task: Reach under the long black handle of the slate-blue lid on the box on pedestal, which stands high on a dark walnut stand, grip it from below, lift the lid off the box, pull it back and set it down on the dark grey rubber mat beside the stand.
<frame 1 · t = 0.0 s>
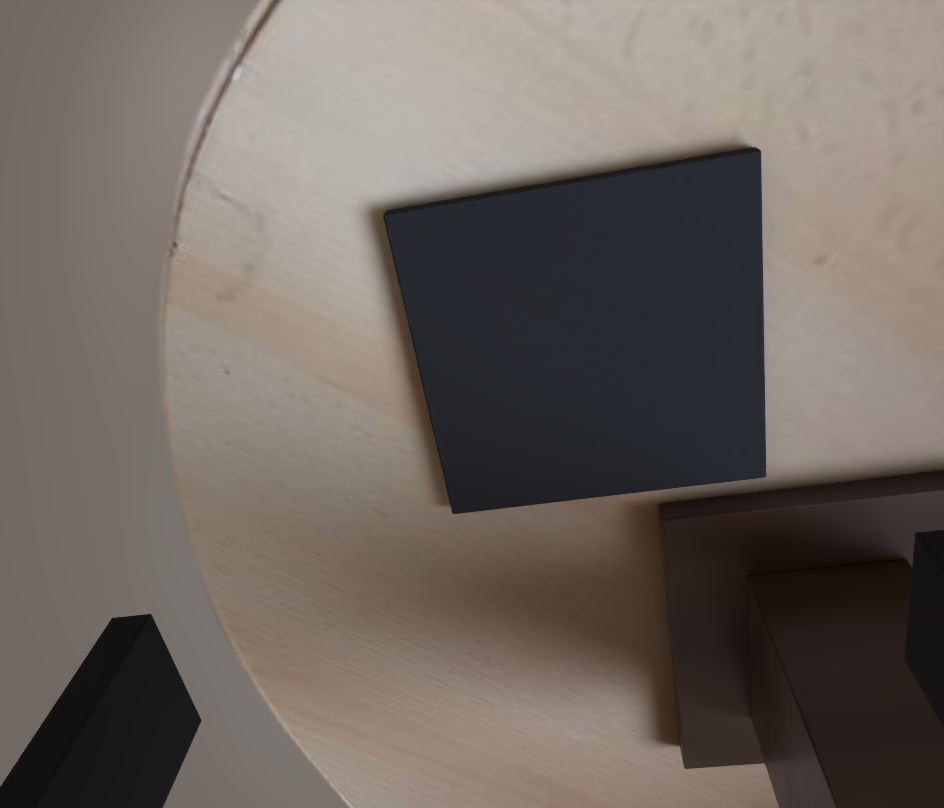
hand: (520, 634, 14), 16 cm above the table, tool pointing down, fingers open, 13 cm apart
box on pedestal: (814, 623, 33), on the table
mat: (586, 348, 28), on the table
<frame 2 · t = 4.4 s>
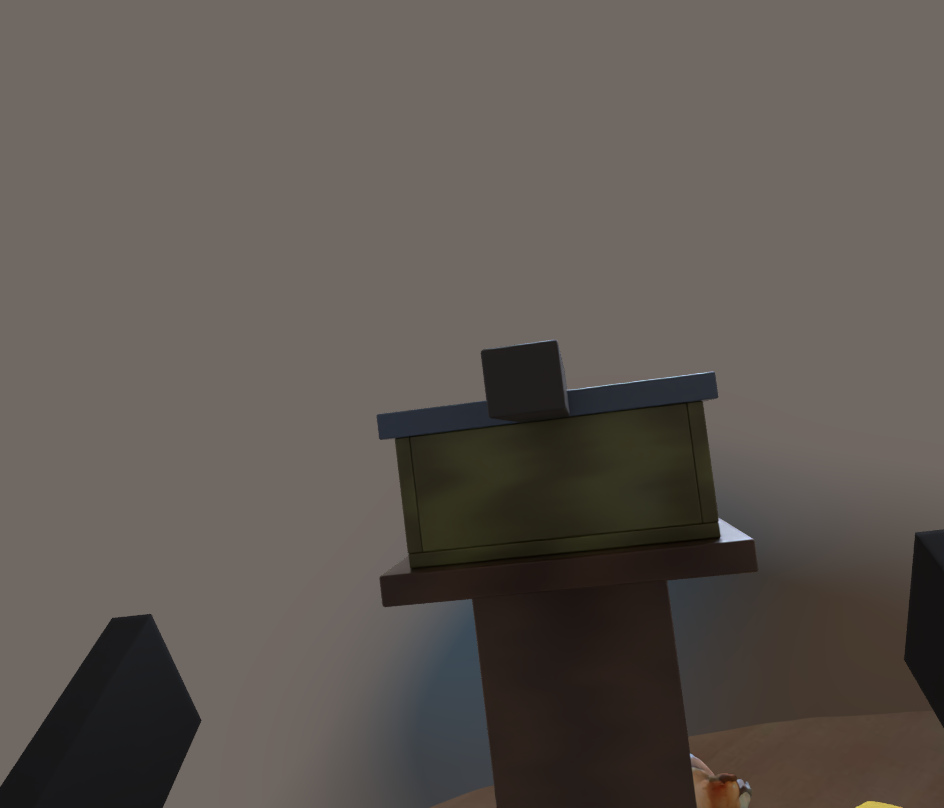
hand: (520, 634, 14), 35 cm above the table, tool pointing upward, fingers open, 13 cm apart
lid: (549, 421, 35), point 39 cm above the table, touching box on pedestal
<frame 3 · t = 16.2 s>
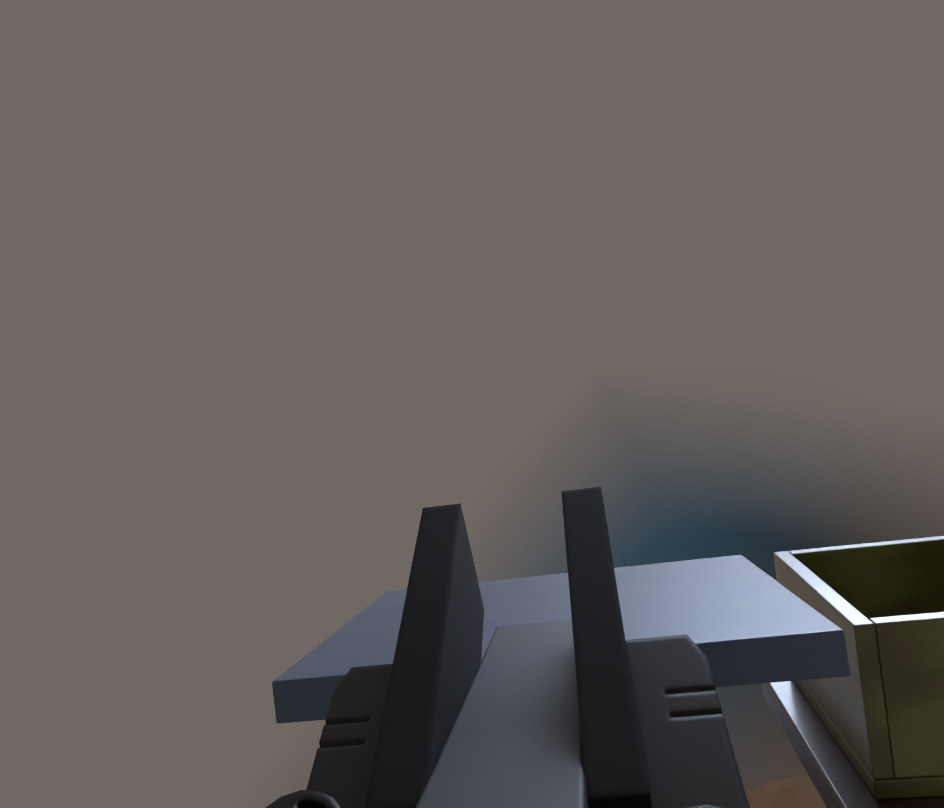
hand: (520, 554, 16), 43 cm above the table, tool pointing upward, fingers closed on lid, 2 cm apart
lid: (557, 639, 23), point 39 cm above the table, touching gripper
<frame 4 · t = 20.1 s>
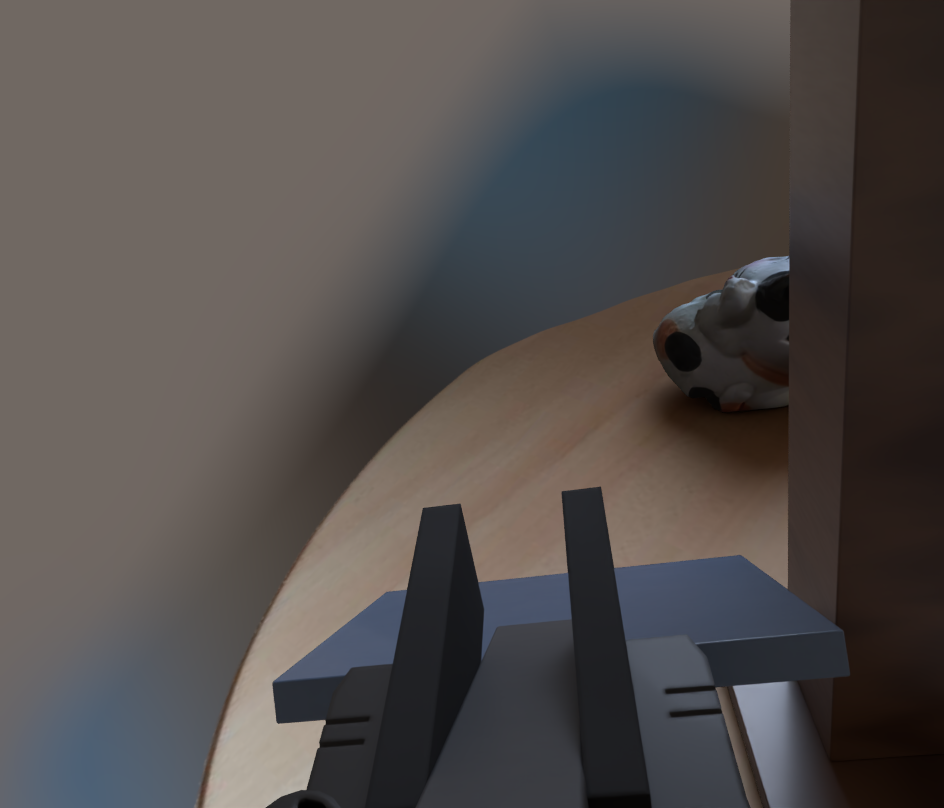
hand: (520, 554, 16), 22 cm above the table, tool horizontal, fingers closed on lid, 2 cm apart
lid: (557, 639, 23), point 15 cm above the table, tilted 30°, touching gripper
box on pedestal: (898, 716, 36), on the table
lucky cat figurine: (762, 383, 65), on the table
when the fingers open (10 cm above the table, at t = 23.3 s): lid drops 3 cm, resting on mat.
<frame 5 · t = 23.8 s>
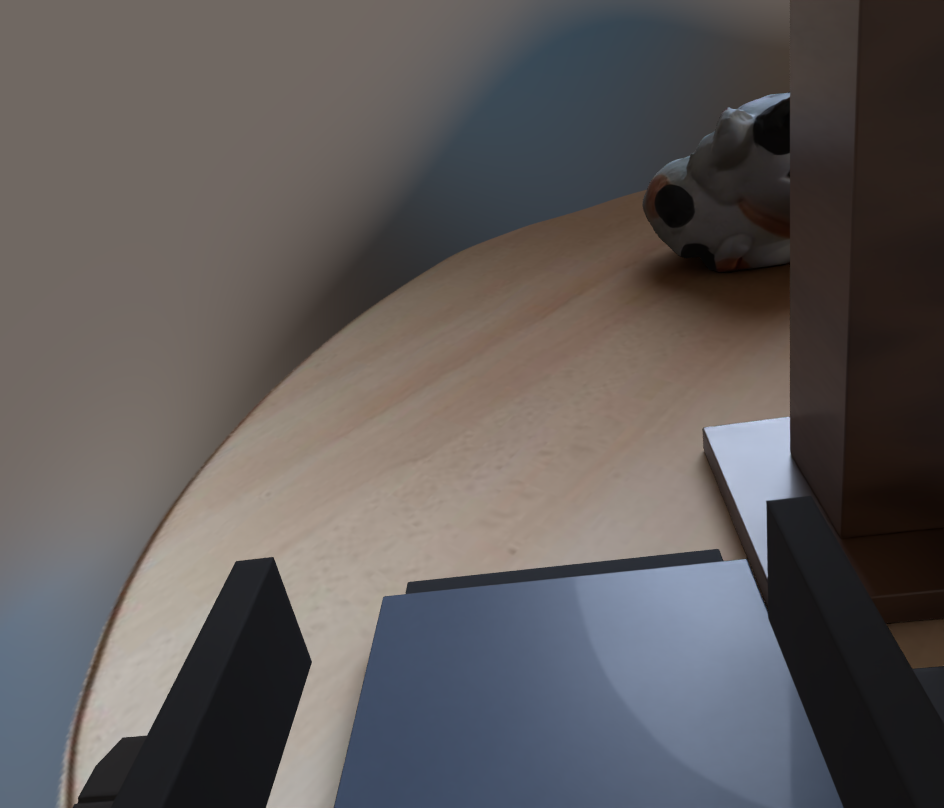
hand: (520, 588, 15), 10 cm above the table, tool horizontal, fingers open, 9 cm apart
lid: (571, 723, 24), point 1 cm above the table, touching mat
box on pedestal: (920, 505, 30), on the table
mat: (569, 700, 25), on the table
lucky cat figurine: (761, 249, 60), on the table
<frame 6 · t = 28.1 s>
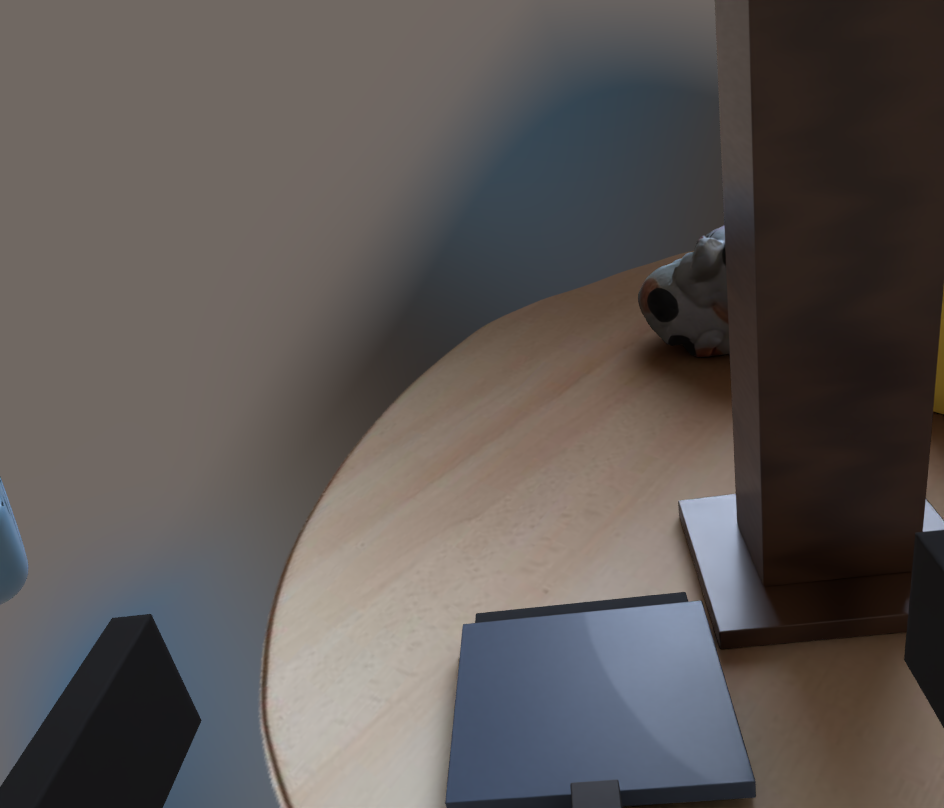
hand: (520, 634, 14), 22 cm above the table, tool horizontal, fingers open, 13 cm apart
lid: (589, 705, 38), point 1 cm above the table, touching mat
box on pedestal: (821, 561, 45), on the table
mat: (587, 691, 40), on the table
lucky cat figurine: (733, 334, 75), on the table
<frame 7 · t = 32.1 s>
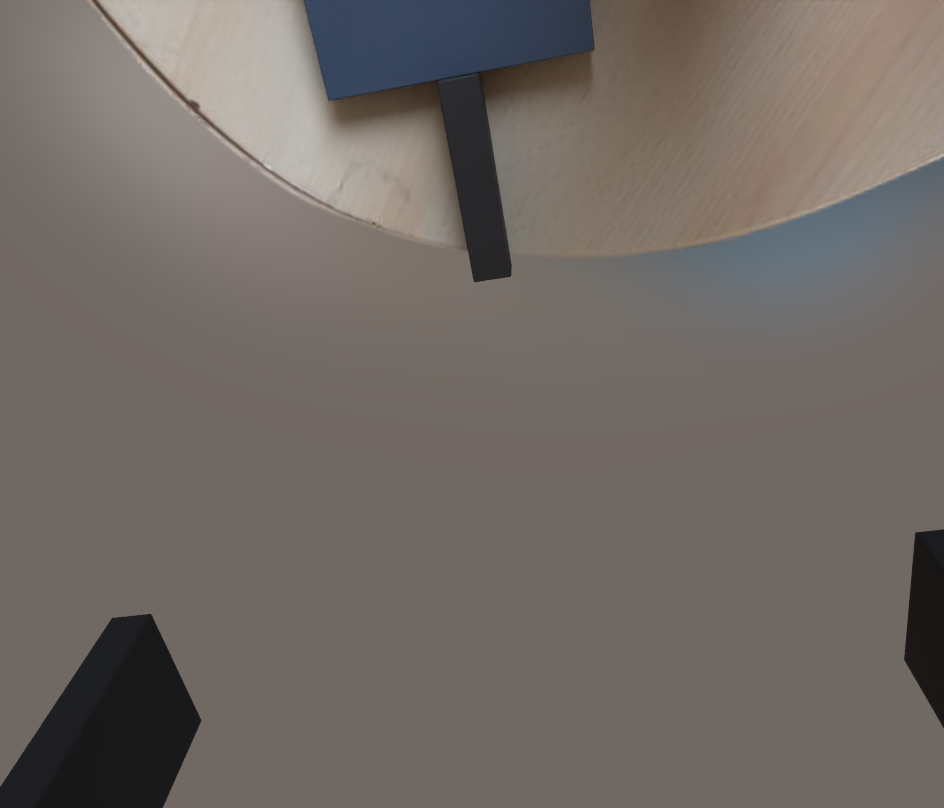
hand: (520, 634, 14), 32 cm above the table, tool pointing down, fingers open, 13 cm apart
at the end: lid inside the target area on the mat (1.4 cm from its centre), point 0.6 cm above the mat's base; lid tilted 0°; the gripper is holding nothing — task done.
